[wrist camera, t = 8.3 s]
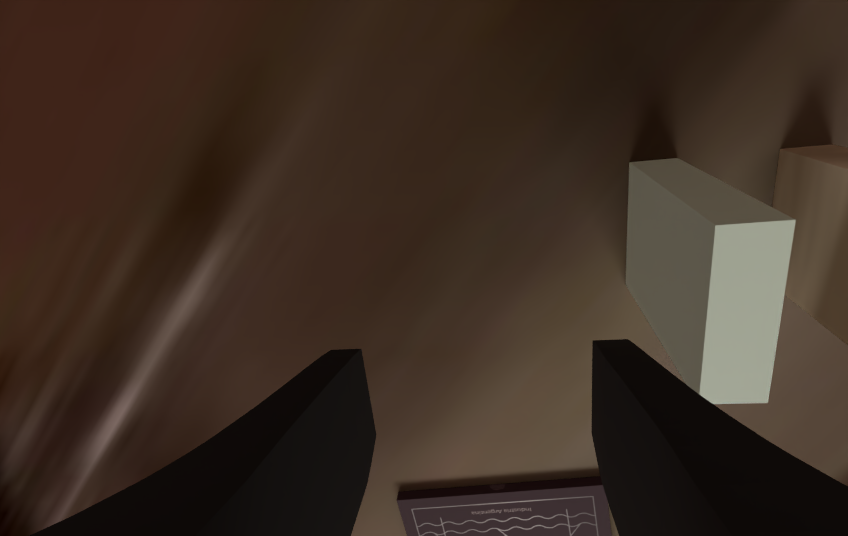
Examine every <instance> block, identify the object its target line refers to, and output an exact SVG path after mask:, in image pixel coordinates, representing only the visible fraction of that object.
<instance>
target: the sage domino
mask: <svg viewBox="0 0 848 536" xmlns="http://www.w3.org/2000/svg"><path fill="white" fill-rule="evenodd" d="M795 222H796V220H795V219H793V218H792V217H790V216H788V215H786V214H784V213H782V212H780V211H778V210H776V209H774V208H772V207H771V206H769V205H767V204H765V203H763V202H761V201H759V200H757V199H755V198H753V197H751V196H749V195H748V194H746V193H744V192H742V191H740V190H738V189H736V188H734V187H732V186H730V185H728V184H726V183H725V182H723V181H721V180H719V179H717V178H715V177H713V176H711V175H709V174H707V173H705V172H703V171H702V170H700V169H698V168H696V167H694V166H692V165H690V164H688V163H686V162H684V161H682V160H681V159H679V158H672V159H661V160H650V161H638V162H629V190H628V222H627V255H626V286H627V288H628V289H629V291H630V293H631V294H632V296H633V298H634V299H635V301H636V303H637V304H638V306H639V307H640V309H641V311H642V312H643V314H644V316H645V317H646V319H647V321H648V322H649V324H650V326H651V327H652V329H653V330H654V332H655V334H656V335H657V337H658V339H659V340H660V342H661V344H662V345H663V347H664V349H665V350H666V352H667V353H668V355H669V357H670V358H671V360H672V362H673V363H674V365H675V367H676V368H677V370H678V372H679V373H680V375H681V376H682V378H683V380H684V381H685V383H686V385H687V386H689V387H690V388H691V389H693V390H694V391H695V392H697V393H698V394H699V395H701V396H702V397H704V398H705V399H706V400H708V401H709V402H711V403H712V404H739V403H768V398H769V392H770V385H771V379H772V372H773V366H774V359H775V353H776V346H777V340H778V333H779V327H780V320H781V314H782V307H783V300H784V294H785V287H786V281H787V274H788V268H789V261H790V255H791V248H792V242H793V235H794V229H795Z"/></svg>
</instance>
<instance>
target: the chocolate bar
mask: <svg viewBox="0 0 848 536" xmlns="http://www.w3.org/2000/svg"><path fill="white" fill-rule="evenodd" d="M397 503H398V506H399V510H400V513H401V516H402V520H403V523H404V526H405V530H406V533H407V536H611V527H610V518H609V510H608V501H607V497H606V494H605V491H604V488H603V485H602V481H601V476H598V477H585V478H572V479H559V480H546V481H533V482H520V483H507V484H494V485H481V486H468V487H455V488H442V489H429V490H416V491H403V492H398V497H397Z"/></svg>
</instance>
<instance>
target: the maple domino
mask: <svg viewBox="0 0 848 536" xmlns="http://www.w3.org/2000/svg"><path fill="white" fill-rule="evenodd" d="M772 208H774V209H776V210H778V211H780V212H782V213H784V214H786V215H788V216H790V217H792V218H793V219H795V220H796V222H795V229H794V235H793V242H792V248H791V255H790V261H789V268H788V274H787V281H786V287H785V294H784V295H785V296H787V297H788V298H789V299H790V300H792V301H793V302H794V303H795V304H797V305H798V306H799V307H800V308H802V309H803V310H804V311H806V312H807V313H808V314H809V315H811V316H812V317H813V318H814V319H816V320H817V321H818V322H819V323H821V324H822V325H823V326H824V327H826V328H827V329H828V330H829V331H831V332H832V333H833V334H834V335H836V336H837V337H838V338H839V339H841V340H842V341H843V342H844V343H846V344H847V345H848V148H845V147H841V146H837V145H833V144H831V145H819V146H807V147H796V148H784V149H780V152H779V160H778V167H777V174H776V181H775V188H774V196H773V203H772Z"/></svg>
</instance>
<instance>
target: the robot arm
mask: <svg viewBox="0 0 848 536" xmlns="http://www.w3.org/2000/svg"><path fill="white" fill-rule="evenodd" d="M592 437H593V442H594V447H595V452H596V457H597V462H598V466H599V471H600V476H601V481H602V485H603V488H604V491H605V494H606V497H607V500H608V503H609V506H610V509H611V512H612V515H613V518H614V521H615V524H616V527H617V530H618V533H619V536H848V486H846V485H844V484H842V483H840V482H839V481H837V480H835V479H833V478H831V477H830V476H828V475H826V474H824V473H822V472H821V471H819V470H817V469H815V468H814V467H812V466H810V465H808V464H807V463H805V462H803V461H801V460H799V459H798V458H796V457H794V456H792V455H791V454H789V453H787V452H785V451H784V450H782V449H781V448H779V447H777V446H776V445H774V444H772V443H771V442H769V441H767V440H766V439H764V438H763V437H761V436H760V435H758V434H757V433H755V432H754V431H752V430H750V429H749V428H747V427H746V426H744V425H743V424H741V423H740V422H738V421H737V420H735V419H734V418H732V417H731V416H729V415H728V414H726V413H725V412H723V411H722V410H721V409H719V408H718V407H716V406H715V405H713V404H712V403H711V402H709V401H708V400H706V399H705V398H704V397H702V396H701V395H699V394H698V393H697V392H695V391H694V390H693V389H691V388H690V387H689V386H687V385H686V384H685V383H683V382H682V381H681V380H680V379H678V378H677V377H676V376H674V375H673V374H672V373H670V372H669V371H668V370H667V369H665V368H664V367H663V366H662V365H660V364H659V363H658V362H656V361H655V360H654V359H653V358H651V357H650V356H649V355H648V354H646V353H645V352H644V351H643V350H641V349H640V348H639V347H638V346H636V345H635V344H634V343H632V342H631V341H630V340H628V339H623V340H595V341H593V358H592ZM375 439H376V431H375V425H374V419H373V413H372V408H371V402H370V396H369V391H368V385H367V379H366V373H365V368H364V362H363V356H362V350H361V349H344V350H330V351H329V352H327V353H326V354H324V355H323V356H321V357H320V358H319V359H317V360H316V361H314V362H313V363H312V364H311V365H309V366H308V367H307V368H305V369H304V370H303V371H302V372H300V373H299V374H298V375H296V376H295V377H294V378H293V379H291V380H290V381H289V382H287V383H286V384H285V385H283V386H282V387H281V388H280V389H278V390H277V391H276V392H274V393H273V394H272V395H270V396H269V397H268V398H267V399H265V400H264V401H263V402H261V403H260V404H259V405H257V406H256V407H255V408H253V409H252V410H250V411H249V412H248V413H246V414H245V415H243V416H242V417H240V418H239V419H238V420H236V421H235V422H233V423H232V424H231V425H229V426H228V427H226V428H225V429H223V430H222V431H221V432H219V433H218V434H216V435H215V436H214V437H212V438H211V439H209V440H208V441H206V442H205V443H203V444H201V445H200V446H198V447H197V448H195V449H194V450H192V451H190V452H189V453H187V454H186V455H184V456H182V457H181V458H179V459H177V460H176V461H174V462H172V463H171V464H169V465H167V466H166V467H164V468H162V469H160V470H159V471H157V472H155V473H154V474H152V475H150V476H148V477H147V478H145V479H143V480H141V481H139V482H138V483H136V484H134V485H132V486H130V487H128V488H126V489H124V490H122V491H120V492H118V493H116V494H114V495H112V496H110V497H108V498H106V499H105V500H103V501H101V502H99V503H97V504H95V505H93V506H91V507H89V508H87V509H85V510H83V511H81V512H79V513H77V514H75V515H73V516H71V517H69V518H67V519H65V520H63V521H61V522H58V523H56V524H54V525H52V526H50V527H47V528H45V529H43V530H41V531H39V532H37V533H34V534H32V535H30V536H351V533H352V530H353V527H354V524H355V521H356V517H357V514H358V511H359V508H360V505H361V502H362V499H363V495H364V492H365V489H366V486H367V482H368V477H369V472H370V467H371V462H372V456H373V451H374V445H375Z"/></svg>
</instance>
